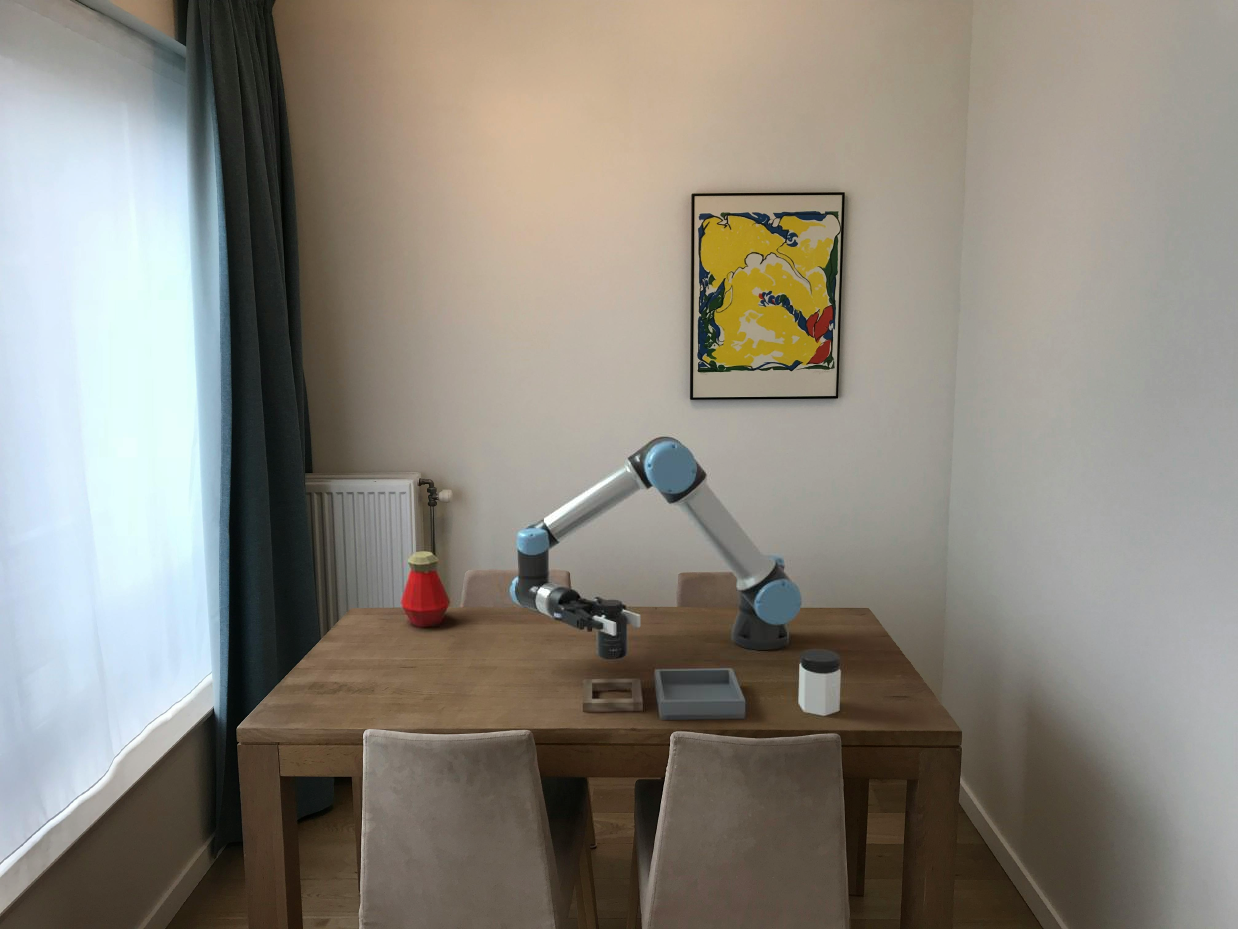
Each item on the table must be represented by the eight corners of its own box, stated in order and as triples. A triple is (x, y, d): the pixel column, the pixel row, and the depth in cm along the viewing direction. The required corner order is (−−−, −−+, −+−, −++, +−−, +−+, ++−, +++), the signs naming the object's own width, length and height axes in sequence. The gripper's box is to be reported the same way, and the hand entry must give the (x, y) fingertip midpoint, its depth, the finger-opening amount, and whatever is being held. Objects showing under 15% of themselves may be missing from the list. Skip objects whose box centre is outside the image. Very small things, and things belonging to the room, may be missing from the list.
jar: (818, 719, 183) (819, 665, 181) (790, 706, 189) (791, 653, 188) (847, 709, 188) (849, 656, 186) (819, 696, 194) (821, 645, 193)
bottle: (459, 625, 243) (457, 556, 240) (413, 634, 235) (410, 563, 232) (437, 611, 256) (435, 545, 253) (393, 619, 248) (390, 551, 245)
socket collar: (639, 686, 200) (639, 678, 200) (642, 711, 187) (642, 702, 187) (583, 687, 200) (583, 679, 199) (582, 711, 187) (582, 703, 187)
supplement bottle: (595, 649, 195) (595, 598, 193) (625, 648, 196) (625, 597, 194) (597, 660, 188) (597, 607, 186) (628, 659, 189) (628, 606, 187)
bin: (731, 684, 201) (732, 668, 200) (745, 718, 183) (745, 700, 183) (654, 685, 201) (654, 669, 200) (660, 719, 183) (660, 702, 182)
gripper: (590, 608, 211) (658, 631, 194) (526, 627, 198) (593, 653, 181) (590, 578, 210) (658, 598, 193) (525, 595, 196) (593, 618, 180)
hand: (627, 625), depth 187 cm, fingers closed on supplement bottle, 7 cm apart
